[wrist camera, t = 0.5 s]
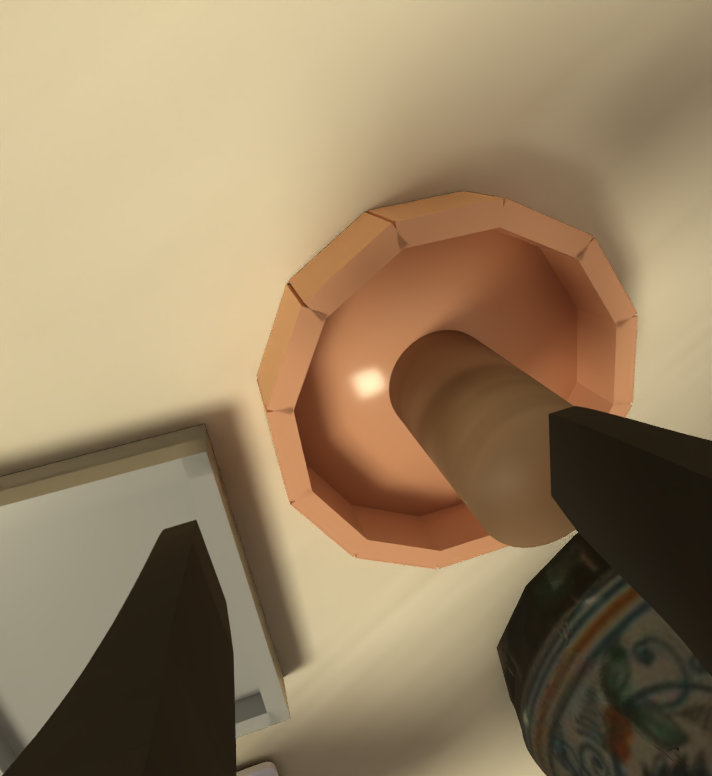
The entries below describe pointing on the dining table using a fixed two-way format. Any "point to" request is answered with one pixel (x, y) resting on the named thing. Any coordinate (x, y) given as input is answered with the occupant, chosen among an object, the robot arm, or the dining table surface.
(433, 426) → the walnut peg
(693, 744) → the beer stein
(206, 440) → the slate tray
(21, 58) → the dining table surface
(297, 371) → the terracotta bowl
